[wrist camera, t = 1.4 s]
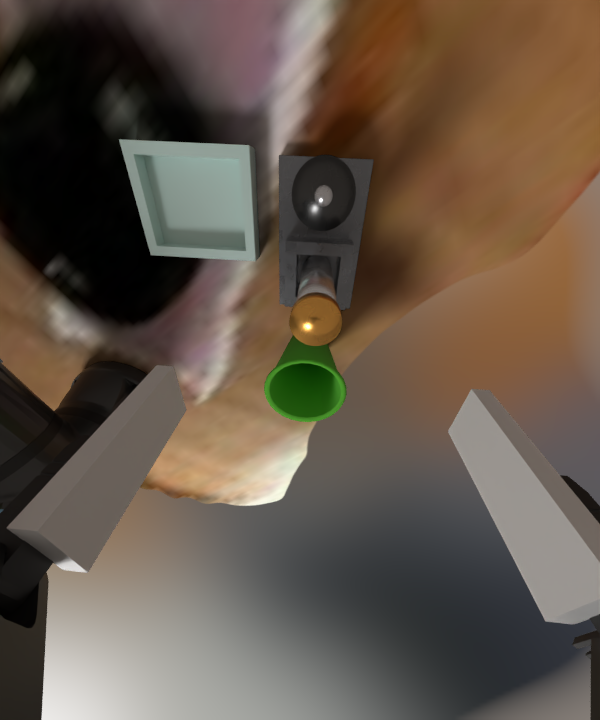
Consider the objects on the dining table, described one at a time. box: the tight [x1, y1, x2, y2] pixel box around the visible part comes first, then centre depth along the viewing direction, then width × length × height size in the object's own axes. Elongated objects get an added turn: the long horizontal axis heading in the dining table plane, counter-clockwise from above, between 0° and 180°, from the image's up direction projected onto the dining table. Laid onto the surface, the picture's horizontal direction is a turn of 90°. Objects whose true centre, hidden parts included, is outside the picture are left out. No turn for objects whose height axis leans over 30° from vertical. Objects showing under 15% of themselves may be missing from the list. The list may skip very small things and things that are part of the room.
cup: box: [264, 335, 346, 422], centre depth 32 cm, size 9×9×11 cm
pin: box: [289, 255, 342, 346], centre depth 24 cm, size 4×4×14 cm
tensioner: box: [279, 155, 374, 310], centre depth 27 cm, size 9×15×5 cm, turn 178°
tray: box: [119, 139, 260, 261], centre depth 27 cm, size 12×10×2 cm
